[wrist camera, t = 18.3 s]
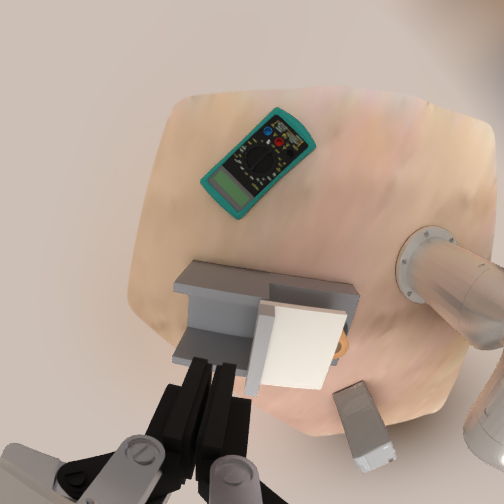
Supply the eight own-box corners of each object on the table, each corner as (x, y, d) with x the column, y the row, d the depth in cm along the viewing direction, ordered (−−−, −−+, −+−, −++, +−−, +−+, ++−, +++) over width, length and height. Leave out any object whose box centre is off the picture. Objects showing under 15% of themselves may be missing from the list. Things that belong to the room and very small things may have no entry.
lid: (345, 311, 30) (352, 326, 27) (319, 384, 34) (323, 402, 30) (260, 299, 31) (259, 314, 27) (246, 377, 34) (243, 394, 30)
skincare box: (331, 393, 45) (346, 460, 30) (367, 377, 44) (392, 441, 28) (344, 416, 47) (359, 477, 31) (376, 401, 45) (398, 460, 30)
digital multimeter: (317, 145, 35) (321, 142, 32) (239, 219, 38) (236, 223, 35) (279, 107, 34) (280, 101, 31) (201, 182, 37) (196, 182, 34)
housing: (352, 284, 39) (371, 311, 30) (331, 351, 42) (342, 385, 34) (193, 260, 39) (173, 282, 31) (188, 330, 43) (172, 362, 34)
